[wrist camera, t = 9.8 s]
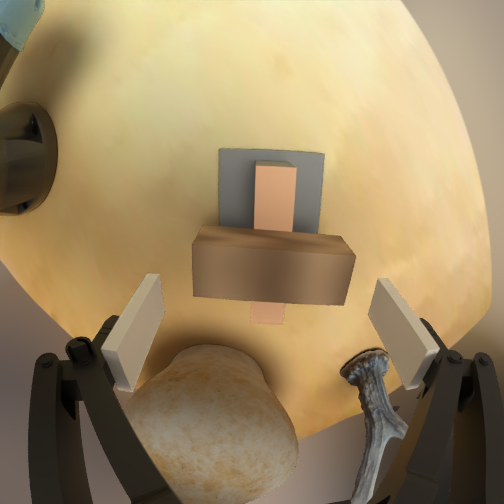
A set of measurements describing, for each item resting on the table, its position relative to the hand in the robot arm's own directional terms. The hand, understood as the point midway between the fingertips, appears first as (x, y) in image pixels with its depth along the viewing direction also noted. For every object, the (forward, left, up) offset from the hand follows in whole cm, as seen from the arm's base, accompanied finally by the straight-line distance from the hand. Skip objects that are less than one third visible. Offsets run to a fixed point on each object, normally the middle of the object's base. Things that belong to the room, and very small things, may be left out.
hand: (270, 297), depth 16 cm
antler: (+22, -16, -14) cm, 31 cm away
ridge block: (0, 0, -14) cm, 14 cm away
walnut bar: (0, 0, -7) cm, 7 cm away
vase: (+2, -24, -14) cm, 28 cm away
